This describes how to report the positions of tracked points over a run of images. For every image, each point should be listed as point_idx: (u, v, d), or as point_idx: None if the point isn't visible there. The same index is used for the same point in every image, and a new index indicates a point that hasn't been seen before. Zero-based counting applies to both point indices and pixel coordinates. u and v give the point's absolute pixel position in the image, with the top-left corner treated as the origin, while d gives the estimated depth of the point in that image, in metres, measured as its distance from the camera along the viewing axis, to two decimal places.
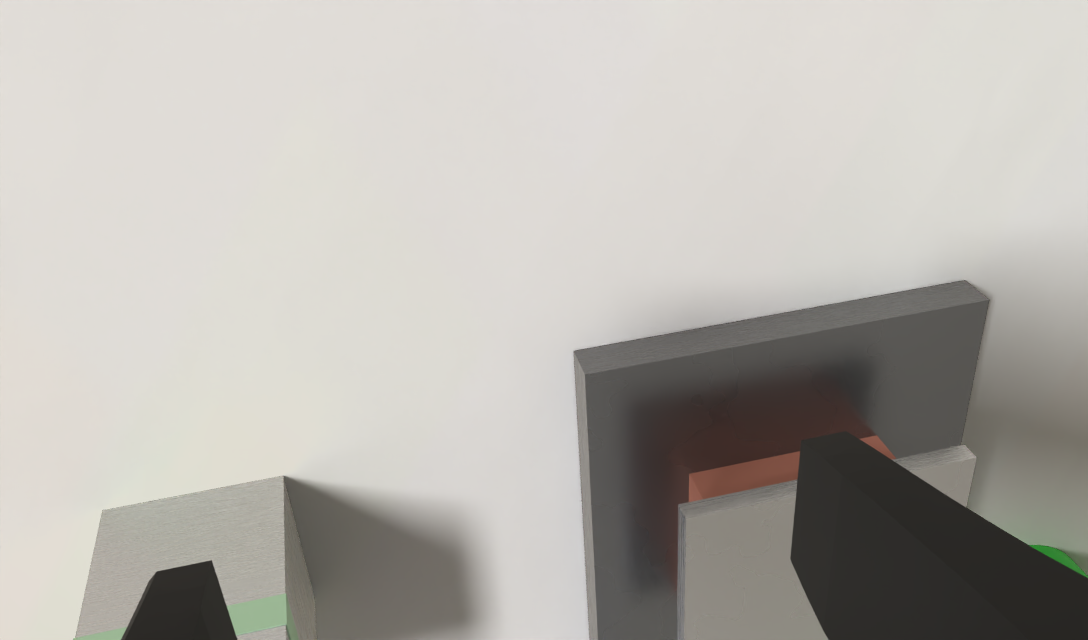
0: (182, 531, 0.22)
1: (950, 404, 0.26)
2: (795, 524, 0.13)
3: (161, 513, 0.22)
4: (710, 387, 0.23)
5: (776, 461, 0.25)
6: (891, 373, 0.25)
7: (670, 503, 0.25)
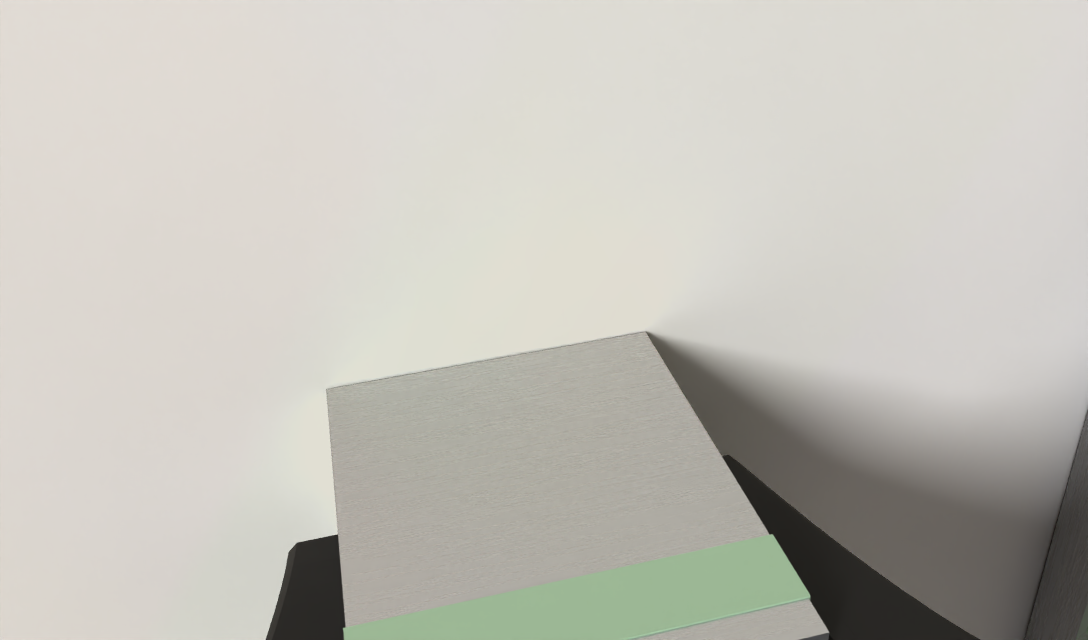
0: (496, 423, 0.11)
1: None
2: None
3: (442, 394, 0.12)
4: None
5: None
6: None
7: None
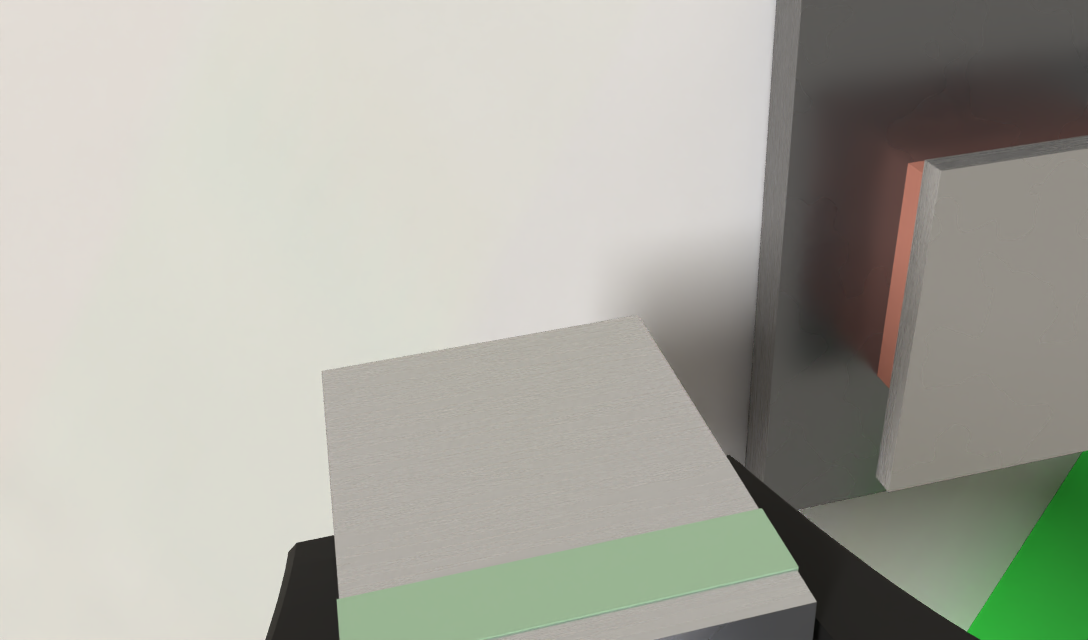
0: (489, 403, 0.11)
1: None
2: None
3: (436, 374, 0.12)
4: (951, 31, 0.18)
5: None
6: None
7: (880, 206, 0.20)
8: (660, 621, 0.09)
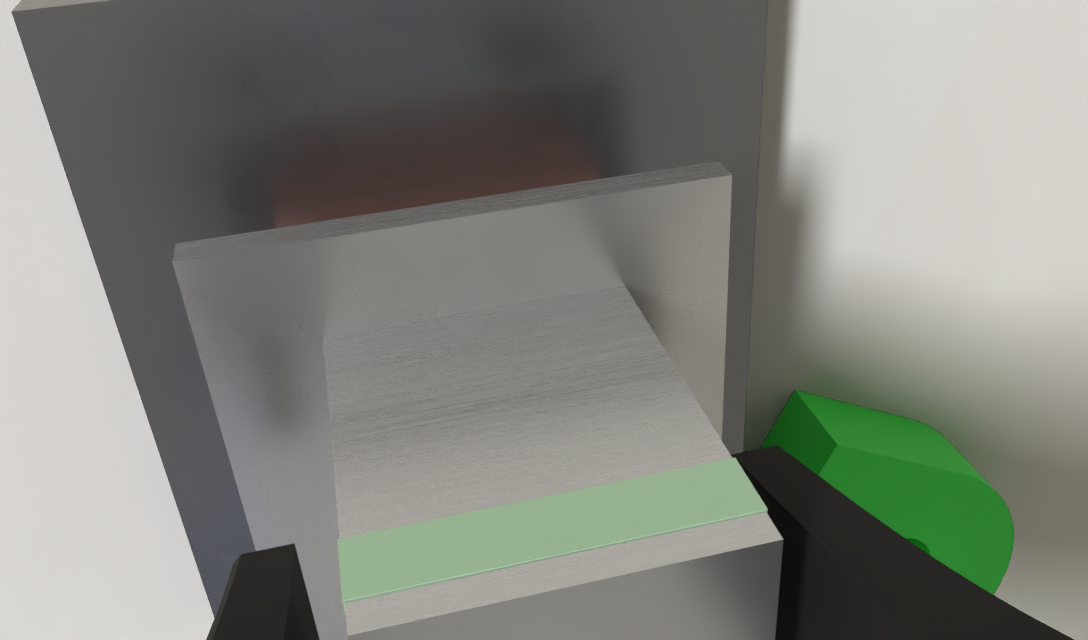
0: (481, 365, 0.12)
1: (728, 133, 0.15)
2: None
3: (431, 340, 0.13)
4: (274, 61, 0.13)
5: None
6: (612, 62, 0.14)
7: None
8: (637, 557, 0.09)
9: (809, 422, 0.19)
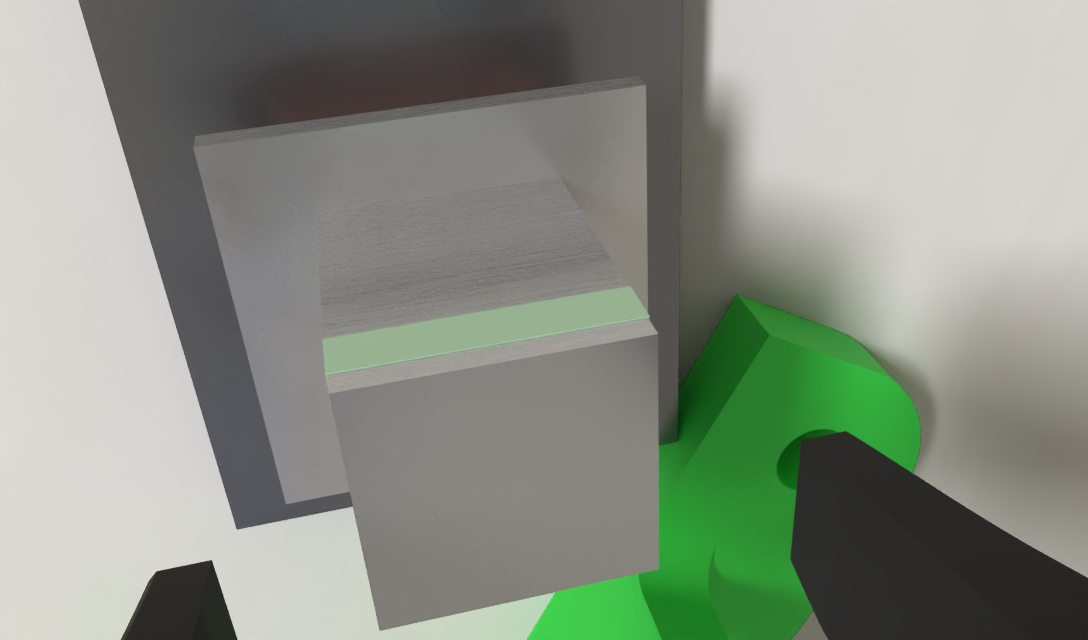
0: (440, 231, 0.15)
1: (654, 62, 0.18)
2: (795, 524, 0.13)
3: (400, 216, 0.16)
4: None
5: None
6: None
7: None
8: (547, 346, 0.12)
9: (748, 320, 0.22)
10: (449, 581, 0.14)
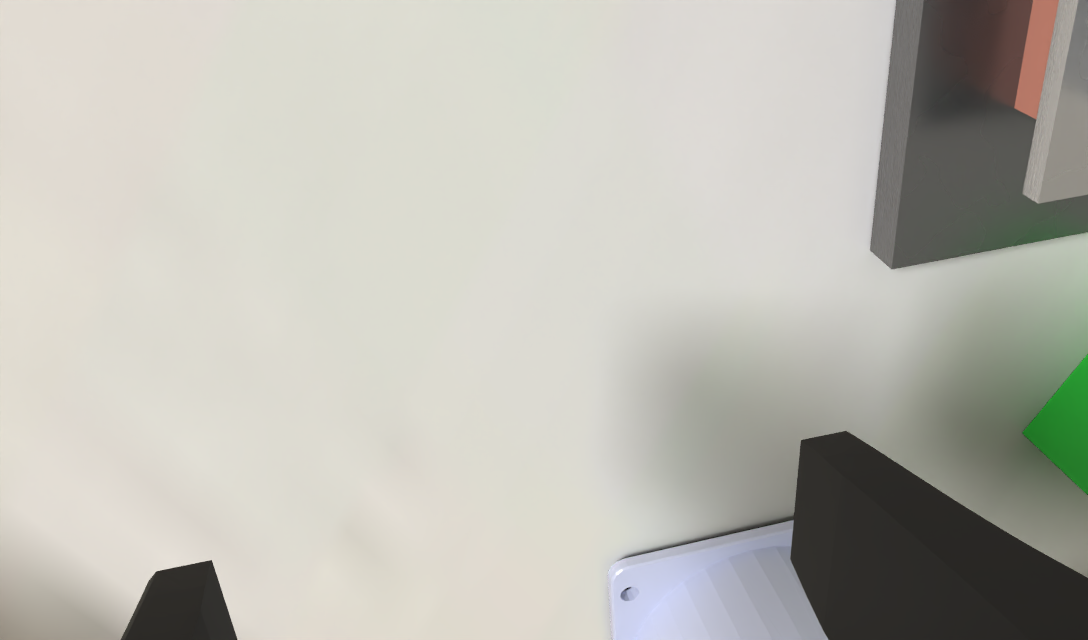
0: None
1: None
2: (795, 524, 0.13)
3: None
4: None
5: None
6: None
7: None
8: None
9: None
10: None
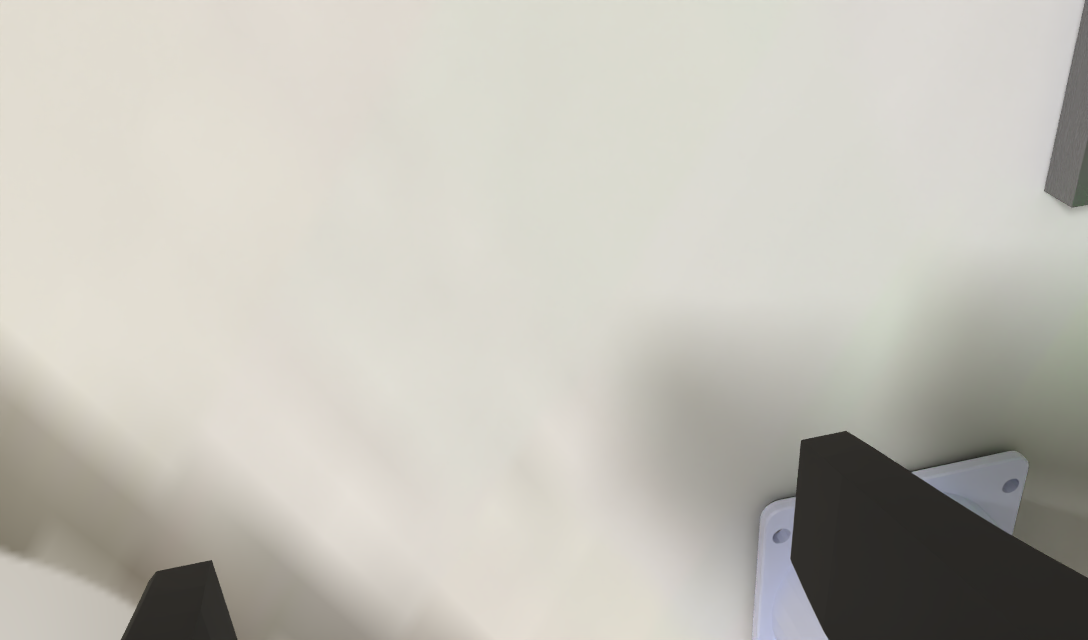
0: None
1: None
2: (795, 524, 0.13)
3: None
4: None
5: None
6: None
7: None
8: None
9: None
10: None
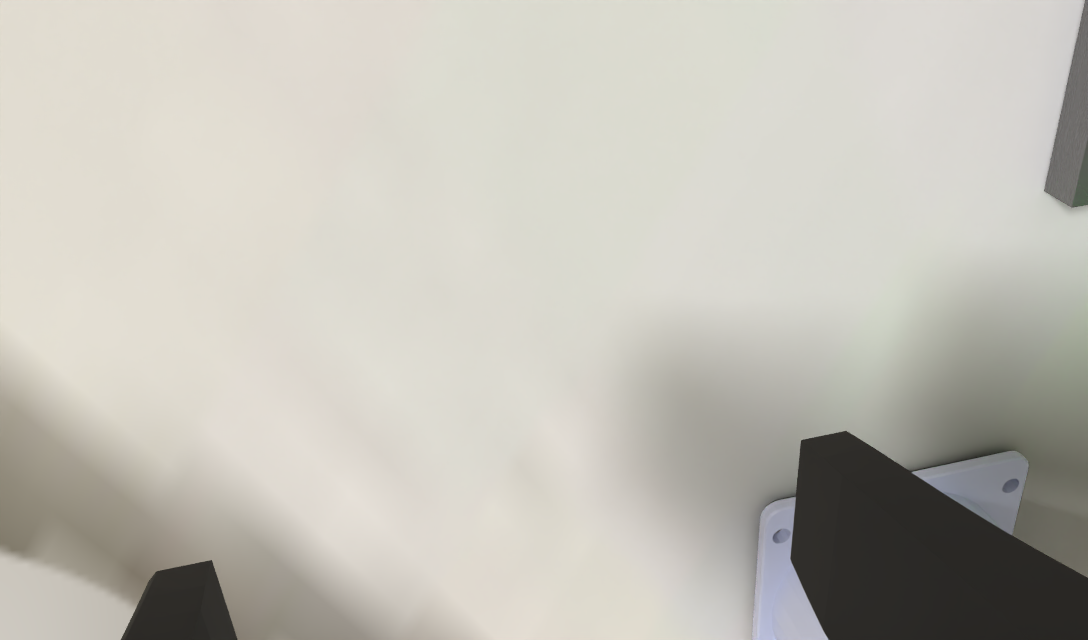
0: None
1: None
2: (795, 524, 0.13)
3: None
4: None
5: None
6: None
7: None
8: None
9: None
10: None
